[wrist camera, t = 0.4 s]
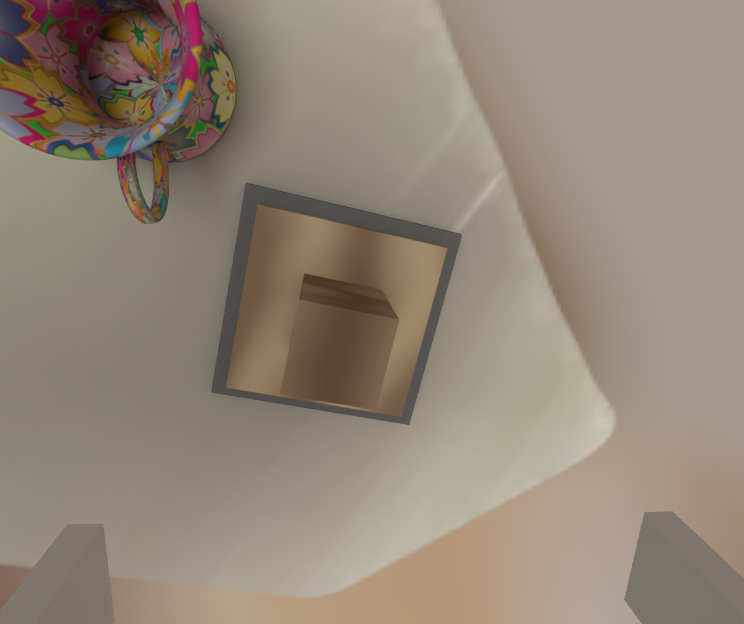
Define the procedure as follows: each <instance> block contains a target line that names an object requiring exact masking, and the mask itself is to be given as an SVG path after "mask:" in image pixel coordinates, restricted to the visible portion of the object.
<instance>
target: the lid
mask: <svg viewBox="0 0 744 624" xmlns="http://www.w3.org/2000/svg"><path fill="white" fill-rule="evenodd" d="M447 249H448V248H446V247H444V246H440V245H435V244H431V243H427V242H422V241H418V240H414V239H410V238H405V237H401V236H397V235H392V234H388V233H384V232H379V231H375V230H371V229H366V228H362V227H358V226H354V225H349V224H345V223H341V222H336V221H332V220H328V219H323V218H319V217H315V216H311V215H306V214H302V213H298V212H293V211H289V210H285V209H280V208H276V207H272V206H267V205H263V204H258V205H257V211H256V216H255V222H254V228H253V234H252V239H251V245H250V251H249V257H248V263H247V268H246V274H245V280H244V286H243V292H242V297H241V303H240V309H239V315H238V321H237V326H236V332H235V338H234V344H233V350H232V355H231V361H230V367H229V373H228V379H227V384H226V388H232V389H238V390H244V391H250V392H256V393H262V394H268V395H274V396H280V397H286V398H291V399H297V400H303V401H309V402H315V403H321V404H327V405H333V406H339V407H345V408H351V409H357V410H363V411H369V412H375V413H381V414H387V415H393V416H399V417H402V413H403V409H404V406H405V402H406V399H407V395H408V391H409V388H410V384H411V380H412V377H413V373H414V369H415V366H416V362H417V358H418V355H419V351H420V347H421V344H422V340H423V336H424V333H425V329H426V325H427V322H428V318H429V314H430V311H431V307H432V303H433V300H434V296H435V292H436V289H437V285H438V281H439V278H440V274H441V271H442V267H443V263H444V260H445V256H446V252H447Z"/></svg>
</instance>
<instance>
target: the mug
mask: <svg viewBox="0 0 744 624" xmlns="http://www.w3.org/2000/svg"><path fill="white" fill-rule="evenodd" d="M235 98H236V84H235V76H234V70H233V67H232V63H231V60H230V57H229V55H228V53H227V51H226V48H225V47H224V45H223V43H222V41H221V40H220V38H219V37H218V35H217V34H216V33H215V31H214V30H213V29H212V28H211V27H210V26H209V24H208V23H207V22H206V21H205V20H203V19H202V18H201V17H200V15H199V9H198V5H197V2H196V0H0V129H1V130H2V131H4V132H5V133H7V134H8V135H10V136H11V137H13V138H15V139H16V140H18V141H20V142H22V143H24V144H26V145H28V146H30V147H32V148H34V149H37V150H40V151H42V152H45V153H48V154H52V155H55V156H59V157H64V158H69V159H77V160H105V159H112V158H117V170H118V177H119V181H120V185H121V189H122V192H123V195H124V198H125V200H126V202H127V204H128V206H129V208H130V210H131V212H132V213H133V215H134V216H135V217H136V218H137V219H138V220H139V221H140V222H142V223H144V224H153V223H157V222H159V221H160V220H161V219H162V218H163V217H164V215H165V212H166V209H167V204H168V197H169V171H168V162H179V161H183V160H187V159H190V158H193V157H195V156H198V155H200V154H201V153H203V152H205V151H206V150H207V149H209V148H210V147H211V146H212V145H214V144H215V143H216V142H217V140H218V139H219V138H220V137H221V136H222V134H223V133H224V131H225V130H226V128H227V126H228V124H229V122H230V119H231V117H232V114H233V110H234V105H235ZM136 156H137V157H140V158H143V159H146V160H150V161H153V173H154V192H153V201H152V206H151V209H149V207H148V206H147V204H146V202H145V200H144V197H143V195H142V192H141V189H140V186H139V182H138V178H137V172H136V161H135V160H136Z"/></svg>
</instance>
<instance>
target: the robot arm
mask: <svg viewBox="0 0 744 624" xmlns="http://www.w3.org/2000/svg"><path fill="white" fill-rule="evenodd" d="M624 600H625V601H626V602H627V604H628V605H629V607H630V608H631V609H632V611H633V612H634V613H635V615H636V616H637V618H638V619H639V620H640V622H641V623H642V624H744V578H743V577H742V576H741V575H740V574H738V572H736V571H735V570H734V569H733V568H732V567H731V566H730V565H729V564H728V563H727V562H726V561H725V560H723V558H721V557H720V556H719V555H718V554H717V553H716V552H715V551H714V550H713V549H712V548H711V547H710V546H709V545H707V544H706V543H705V542H704V541H703V540H702V539H701V538H700V537H699V536H698V535H697V534H696V533H695V532H694V531H693V530H692V529H690V528H689V527H688V526H687V525H686V524H685V523H684V522H683V521H682V520H681V519H680V518H679V517H677V515H676V514H675V513H673V512H644V516H643V522H642V525H641V530H640V534H639V538H638V543H637V547H636V552H635V556H634V561H633V564H632V569H631V574H630V577H629V582H628V586H627V591H626V595H625V599H624ZM113 623H114V613H113V604H112V596H111V588H110V579H109V570H108V562H107V553H106V545H105V536H104V528H103V524H75V525H67V526H66V527H65V528H64V529H63V531H62V532H61V533H60V535H59V536H58V537H57V538H56V540H55V541H54V542H53V544H52V545H51V546H50V547H49V549H48V550H47V551H46V552H45V554H44V555H43V556H42V558H41V559H40V560H39V561H38V563H37V564H36V565H35V567H34V568H33V569H32V570H31V572H30V573H29V574H28V575H27V577H26V578H25V579H24V581H23V582H22V583H21V584H20V586H19V587H18V588H17V590H16V591H15V592H14V593H13V595H12V596H11V597H10V599H9V600H8V601H7V602H6V604H5V605H4V606H3V607H2V609H1V610H0V624H113Z"/></svg>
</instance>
